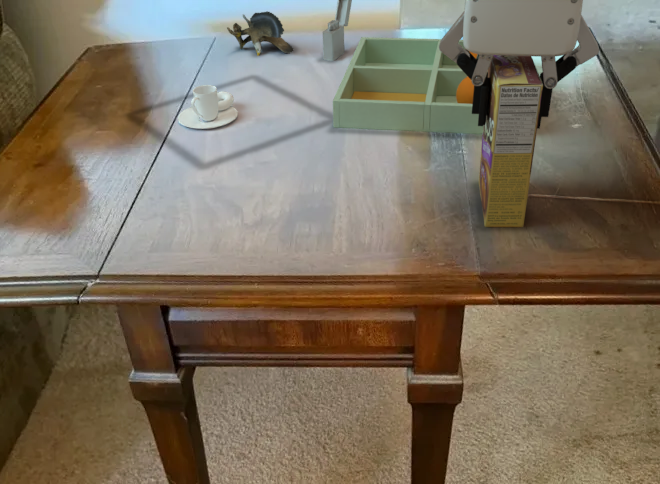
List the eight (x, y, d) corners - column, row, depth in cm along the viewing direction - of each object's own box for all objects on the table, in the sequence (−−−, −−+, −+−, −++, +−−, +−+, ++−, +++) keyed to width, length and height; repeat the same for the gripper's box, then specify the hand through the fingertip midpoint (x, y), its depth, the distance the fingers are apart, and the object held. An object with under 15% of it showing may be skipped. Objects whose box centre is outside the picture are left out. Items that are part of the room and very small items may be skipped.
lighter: (333, 62, 116) (331, 7, 111) (323, 60, 117) (321, 6, 112) (352, 46, 121) (352, -6, 116) (342, 45, 122) (341, -7, 117)
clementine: (494, 106, 100) (498, 68, 96) (494, 122, 96) (498, 83, 93) (455, 104, 100) (458, 67, 97) (453, 120, 97) (456, 82, 94)
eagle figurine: (228, 54, 117) (284, 44, 115) (224, 7, 117) (279, -4, 114) (246, 66, 125) (299, 56, 122) (242, 21, 124) (295, 11, 122)
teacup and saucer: (223, 100, 106) (220, 71, 104) (254, 118, 101) (251, 88, 99) (167, 118, 102) (162, 88, 100) (197, 137, 97) (192, 107, 95)
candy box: (474, 186, 85) (488, 47, 75) (513, 186, 84) (533, 47, 75) (480, 228, 78) (497, 82, 68) (523, 229, 77) (547, 82, 68)
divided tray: (521, 69, 111) (524, 40, 108) (522, 140, 93) (527, 108, 90) (361, 64, 115) (361, 37, 112) (333, 131, 97) (332, 100, 94)
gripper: (635, -95, 65) (595, 109, 76) (434, -94, 68) (425, 103, 79) (647, -76, 59) (601, 142, 71) (427, -75, 62) (418, 134, 74)
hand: (508, 119), depth 75 cm, fingers closed on candy box, 4 cm apart
